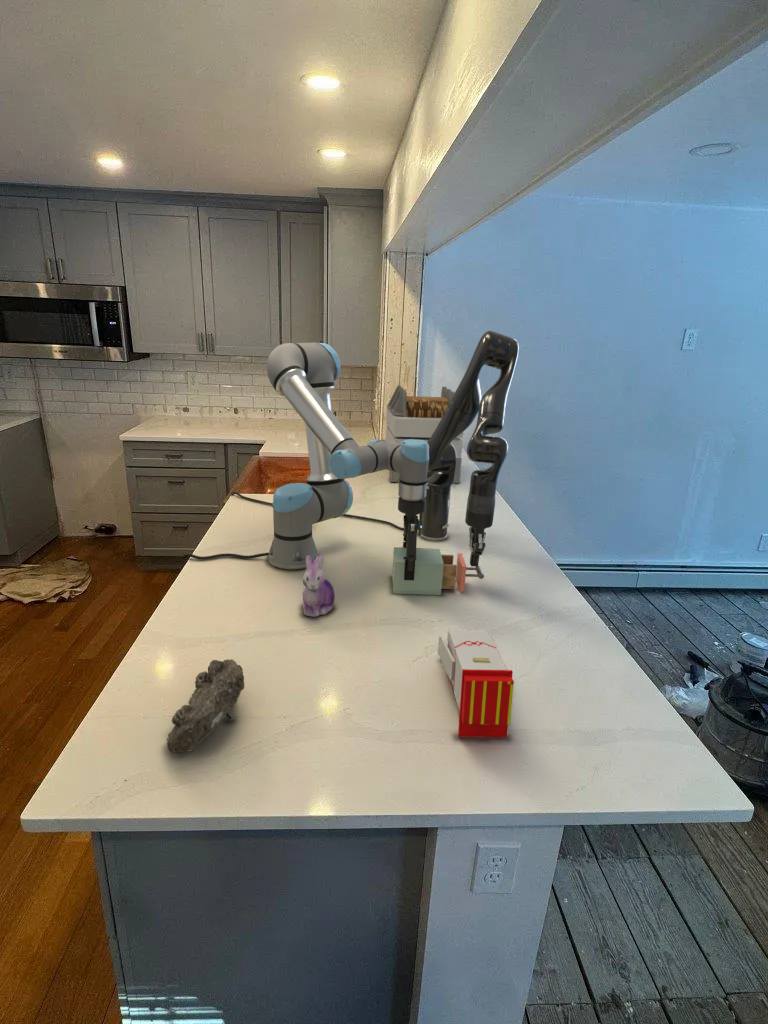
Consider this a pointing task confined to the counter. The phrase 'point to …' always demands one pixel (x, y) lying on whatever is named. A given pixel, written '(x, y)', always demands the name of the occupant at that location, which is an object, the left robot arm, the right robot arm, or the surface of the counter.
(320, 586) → the figurine
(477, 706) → the toy
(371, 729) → the counter surface
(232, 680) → the fossil
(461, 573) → the drawer
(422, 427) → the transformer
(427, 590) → the cabinet
